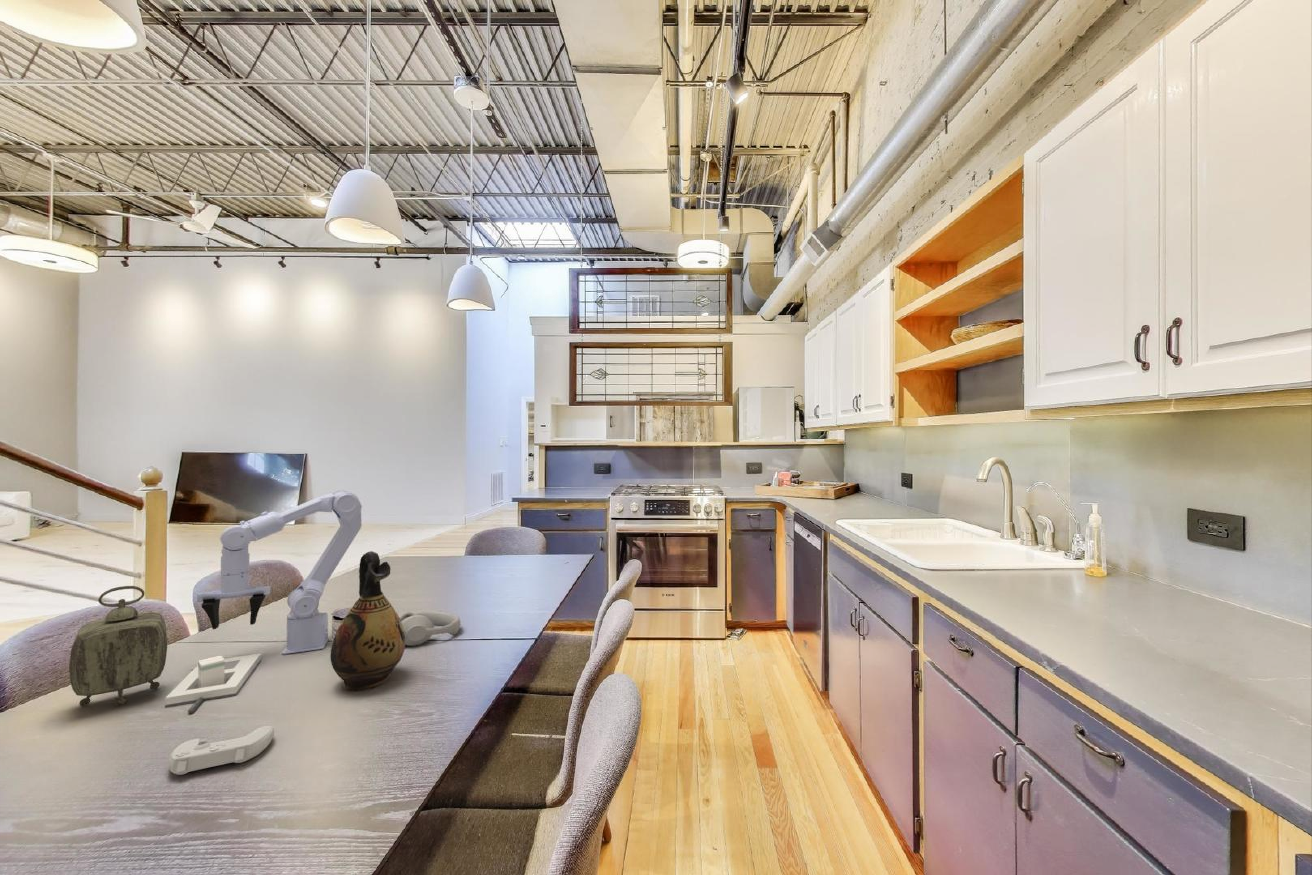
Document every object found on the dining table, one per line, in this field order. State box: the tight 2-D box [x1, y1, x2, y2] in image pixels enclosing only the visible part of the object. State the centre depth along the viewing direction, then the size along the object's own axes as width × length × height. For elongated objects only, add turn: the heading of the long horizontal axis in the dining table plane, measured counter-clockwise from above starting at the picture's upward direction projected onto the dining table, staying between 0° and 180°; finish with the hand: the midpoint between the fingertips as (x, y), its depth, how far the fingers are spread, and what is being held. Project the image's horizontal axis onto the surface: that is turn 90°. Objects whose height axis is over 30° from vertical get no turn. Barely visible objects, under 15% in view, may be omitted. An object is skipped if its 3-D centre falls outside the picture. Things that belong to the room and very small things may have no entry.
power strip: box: [164, 653, 262, 714], centre depth 117 cm, size 12×26×2 cm, turn 25°
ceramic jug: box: [329, 550, 406, 692], centre depth 121 cm, size 17×15×30 cm
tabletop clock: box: [68, 585, 168, 707], centre depth 111 cm, size 14×9×25 cm, turn 134°
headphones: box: [396, 610, 461, 647], centre depth 149 cm, size 18×8×20 cm
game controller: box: [167, 725, 275, 776], centre depth 90 cm, size 14×4×10 cm
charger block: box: [197, 655, 225, 688], centre depth 116 cm, size 4×4×6 cm
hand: (234, 625), depth 131 cm, fingers open, 7 cm apart
